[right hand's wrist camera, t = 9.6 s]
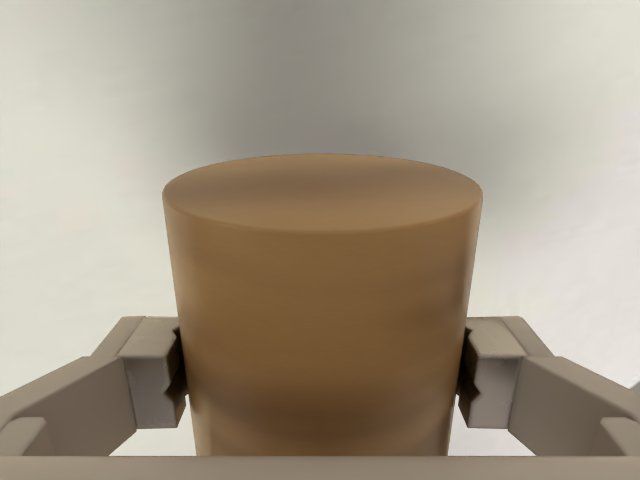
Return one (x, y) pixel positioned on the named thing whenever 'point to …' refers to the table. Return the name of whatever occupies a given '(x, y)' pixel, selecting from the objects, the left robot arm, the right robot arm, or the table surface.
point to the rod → (322, 302)
